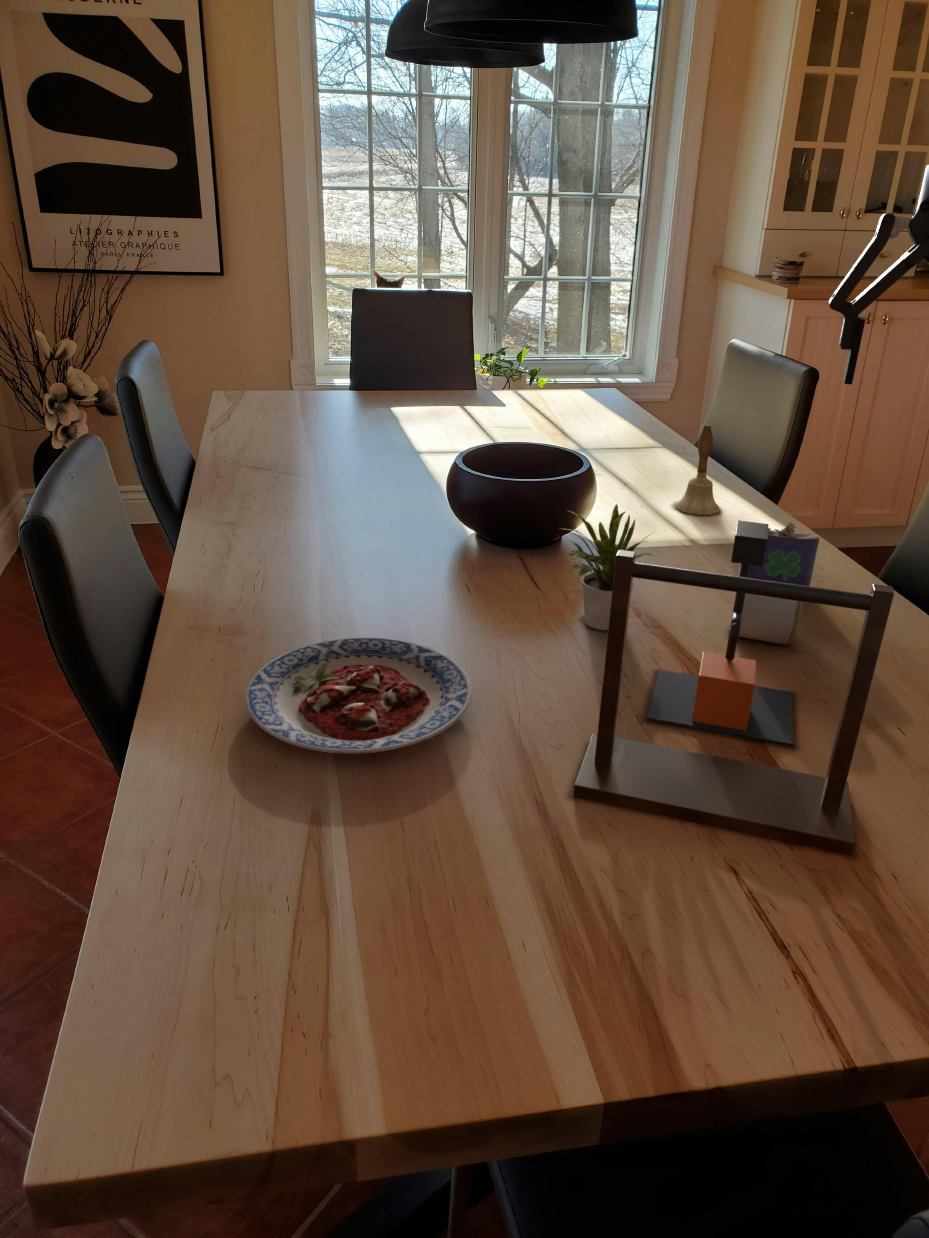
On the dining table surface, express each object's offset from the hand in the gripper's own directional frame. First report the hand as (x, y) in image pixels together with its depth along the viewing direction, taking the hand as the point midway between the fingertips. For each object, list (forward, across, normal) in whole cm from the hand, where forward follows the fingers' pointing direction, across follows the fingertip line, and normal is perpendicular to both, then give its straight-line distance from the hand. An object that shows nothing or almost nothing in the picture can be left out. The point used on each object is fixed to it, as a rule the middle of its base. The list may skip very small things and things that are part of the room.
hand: (916, 387), depth 94 cm
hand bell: (+37, -23, +65) cm, 78 cm away
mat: (+37, -14, -9) cm, 40 cm away
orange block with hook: (+36, -14, -11) cm, 40 cm away
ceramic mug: (+37, -10, +13) cm, 40 cm away
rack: (+37, -14, -27) cm, 48 cm away
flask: (+37, -8, +30) cm, 48 cm away
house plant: (+37, -32, +10) cm, 50 cm away
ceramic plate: (+37, -54, -23) cm, 69 cm away
